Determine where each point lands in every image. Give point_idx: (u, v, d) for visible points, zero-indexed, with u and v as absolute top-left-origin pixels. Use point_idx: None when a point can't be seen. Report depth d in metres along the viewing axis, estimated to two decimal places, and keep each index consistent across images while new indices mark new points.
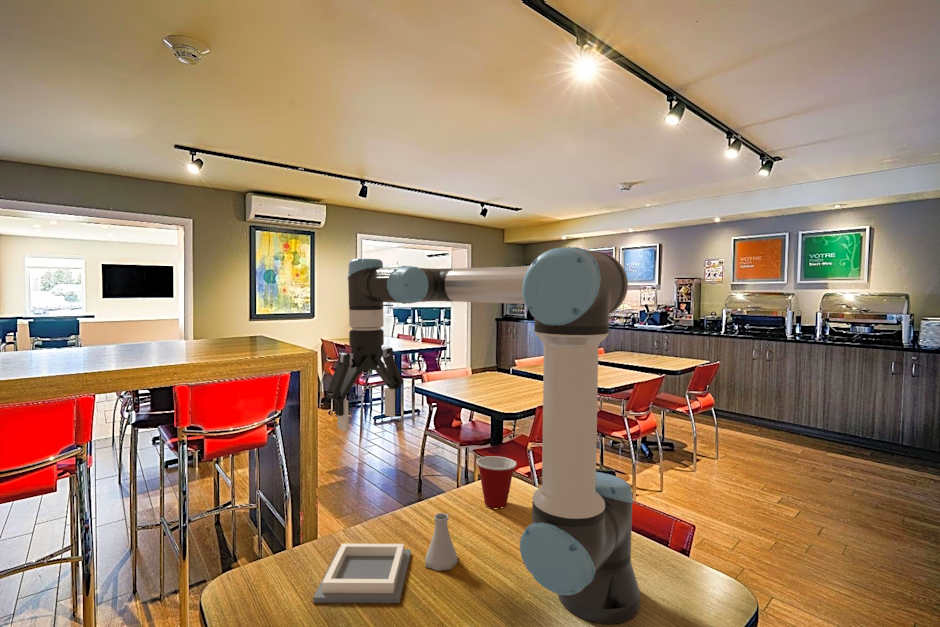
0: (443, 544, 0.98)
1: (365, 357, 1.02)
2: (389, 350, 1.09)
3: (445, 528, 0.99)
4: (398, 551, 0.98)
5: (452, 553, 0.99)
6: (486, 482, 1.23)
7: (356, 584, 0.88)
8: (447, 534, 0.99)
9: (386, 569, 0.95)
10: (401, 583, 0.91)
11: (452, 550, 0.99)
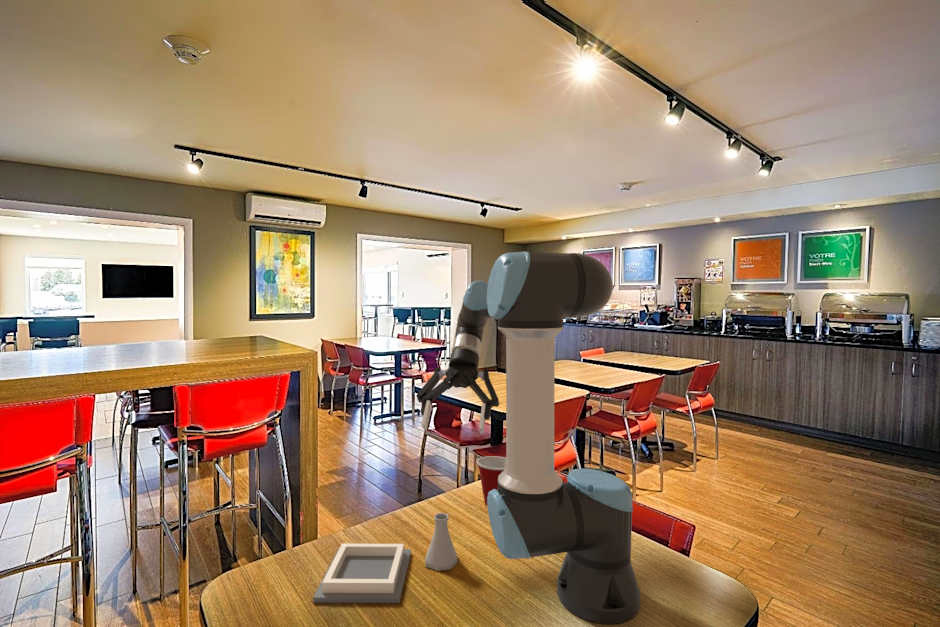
0: (443, 544, 0.98)
1: None
2: (484, 371, 1.17)
3: (445, 528, 0.99)
4: (398, 551, 0.98)
5: (452, 553, 0.99)
6: (486, 482, 1.23)
7: (356, 584, 0.88)
8: (447, 534, 0.99)
9: (386, 569, 0.95)
10: (401, 583, 0.91)
11: (452, 550, 0.99)
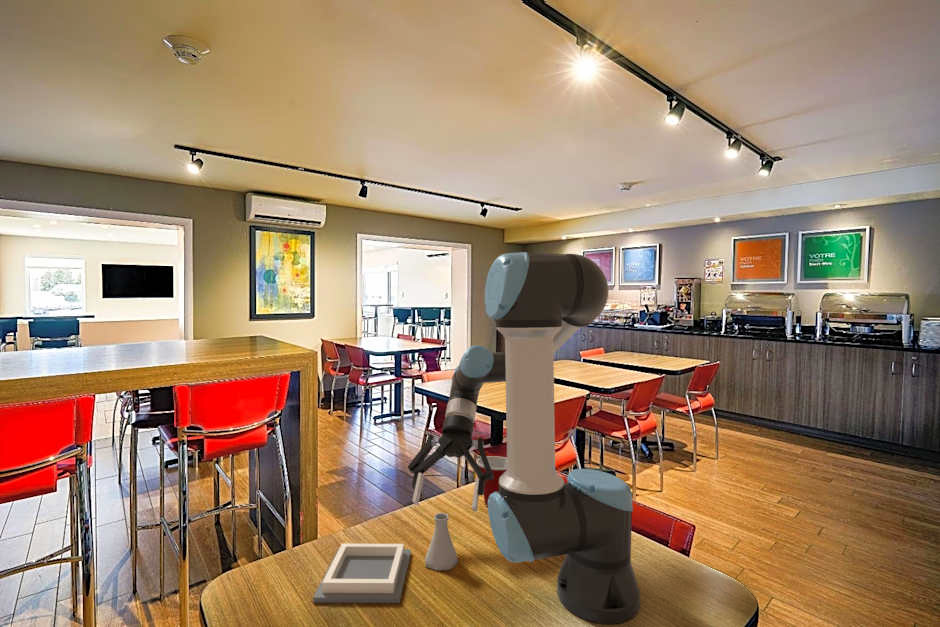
0: (443, 544, 0.98)
1: None
2: (478, 440, 1.13)
3: (445, 528, 0.99)
4: (398, 551, 0.98)
5: (452, 553, 0.99)
6: (486, 482, 1.23)
7: (356, 584, 0.88)
8: (447, 534, 0.99)
9: (386, 569, 0.95)
10: (401, 583, 0.91)
11: (452, 550, 0.99)
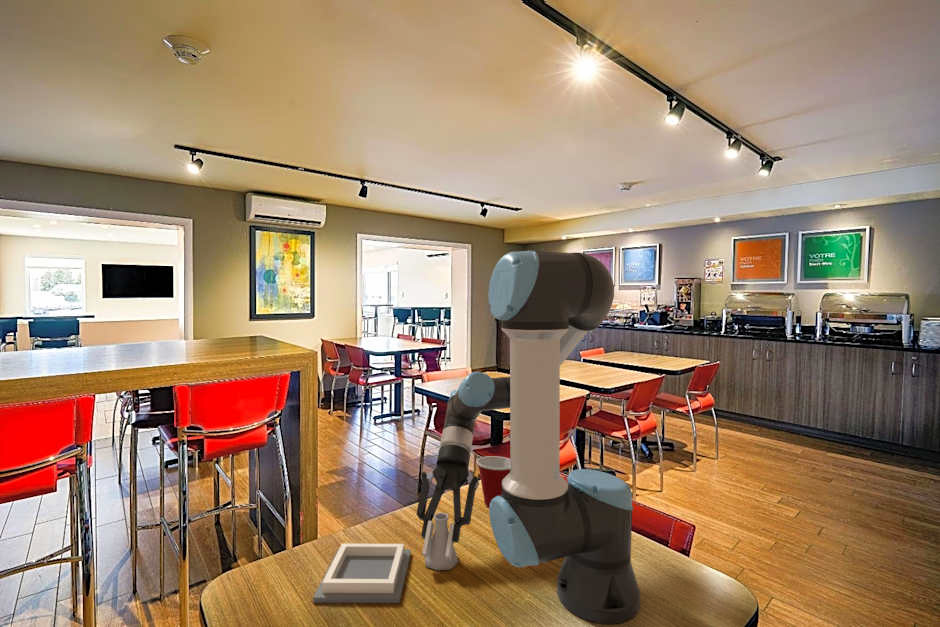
0: (443, 544, 0.98)
1: None
2: (473, 478, 1.05)
3: (445, 528, 0.99)
4: (398, 551, 0.98)
5: (452, 553, 0.99)
6: (486, 482, 1.23)
7: (356, 584, 0.88)
8: (447, 534, 0.99)
9: (386, 569, 0.95)
10: (401, 583, 0.91)
11: None
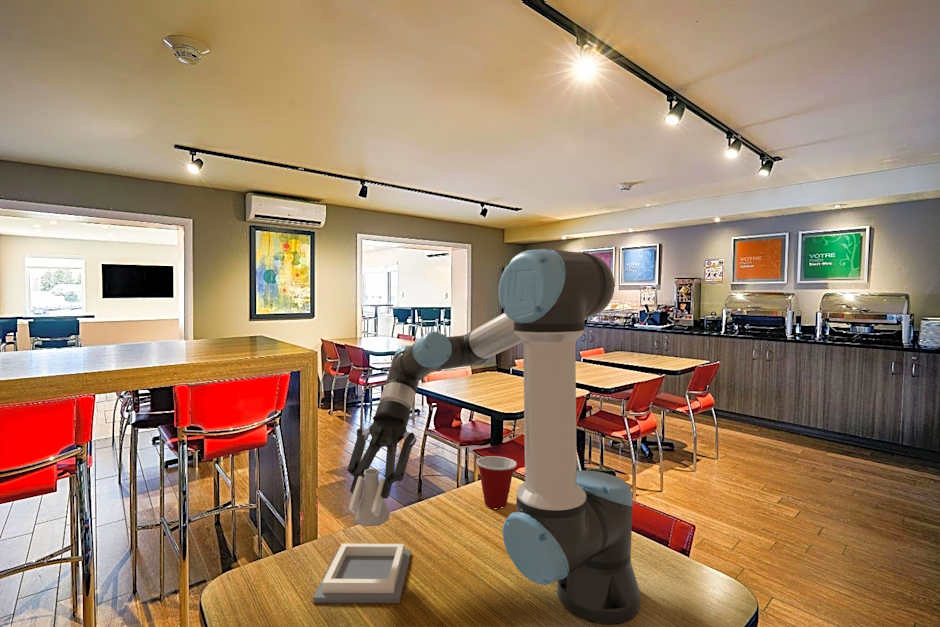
0: (372, 500, 0.94)
1: None
2: (409, 434, 1.00)
3: (375, 483, 0.94)
4: (398, 551, 0.98)
5: (382, 509, 0.94)
6: (486, 482, 1.23)
7: (356, 584, 0.88)
8: None
9: (386, 569, 0.95)
10: (401, 583, 0.91)
11: (382, 506, 0.95)
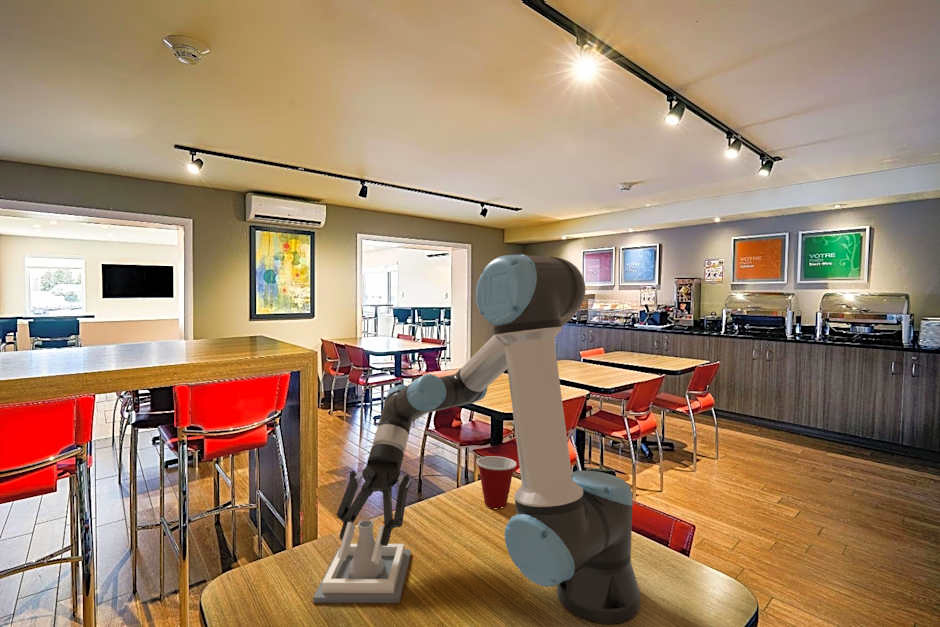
0: (366, 553, 0.93)
1: None
2: (404, 477, 1.00)
3: (369, 536, 0.93)
4: (398, 551, 0.98)
5: None
6: (486, 482, 1.23)
7: (356, 584, 0.88)
8: (371, 542, 0.94)
9: (386, 569, 0.95)
10: (401, 583, 0.91)
11: None
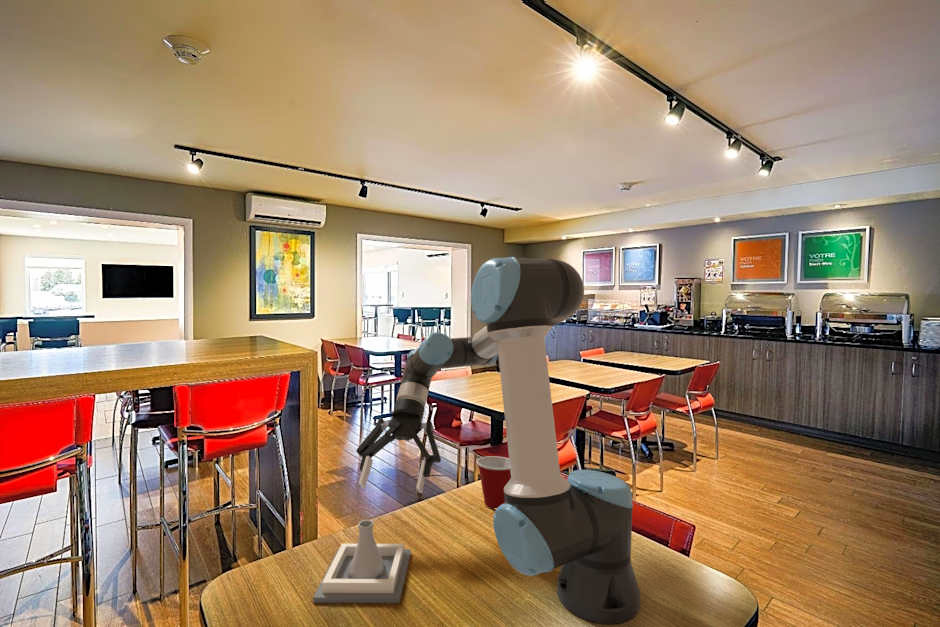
0: (366, 553, 0.93)
1: None
2: (427, 423, 1.13)
3: (369, 536, 0.94)
4: (398, 551, 0.98)
5: (376, 562, 0.94)
6: (486, 482, 1.23)
7: (356, 584, 0.88)
8: (371, 542, 0.94)
9: (386, 569, 0.95)
10: (401, 583, 0.91)
11: (377, 559, 0.94)
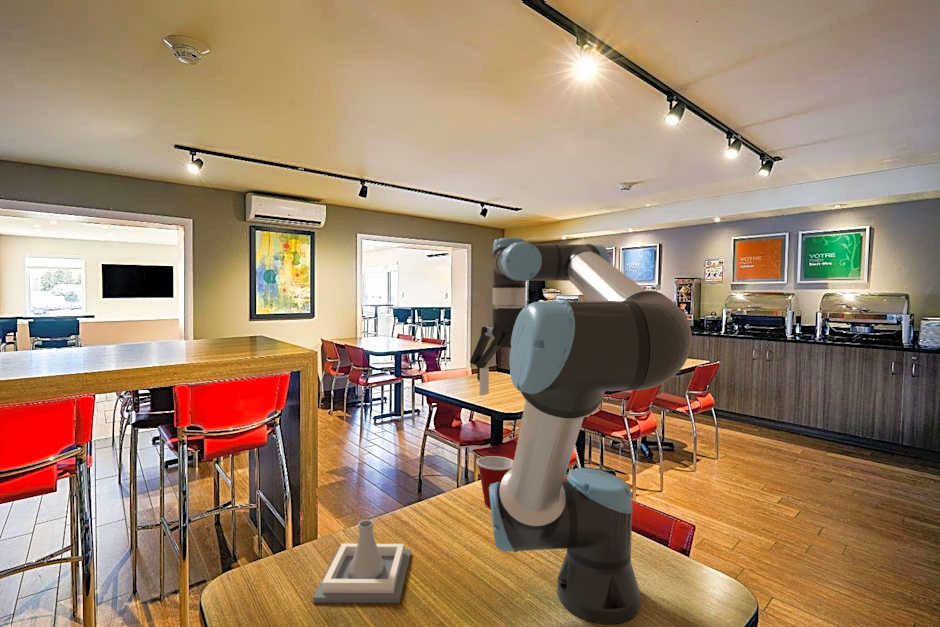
0: (366, 553, 0.93)
1: None
2: None
3: (369, 536, 0.94)
4: (398, 551, 0.98)
5: (376, 562, 0.94)
6: (486, 482, 1.23)
7: (356, 584, 0.88)
8: (371, 542, 0.94)
9: (386, 569, 0.95)
10: (401, 583, 0.91)
11: (377, 559, 0.94)
